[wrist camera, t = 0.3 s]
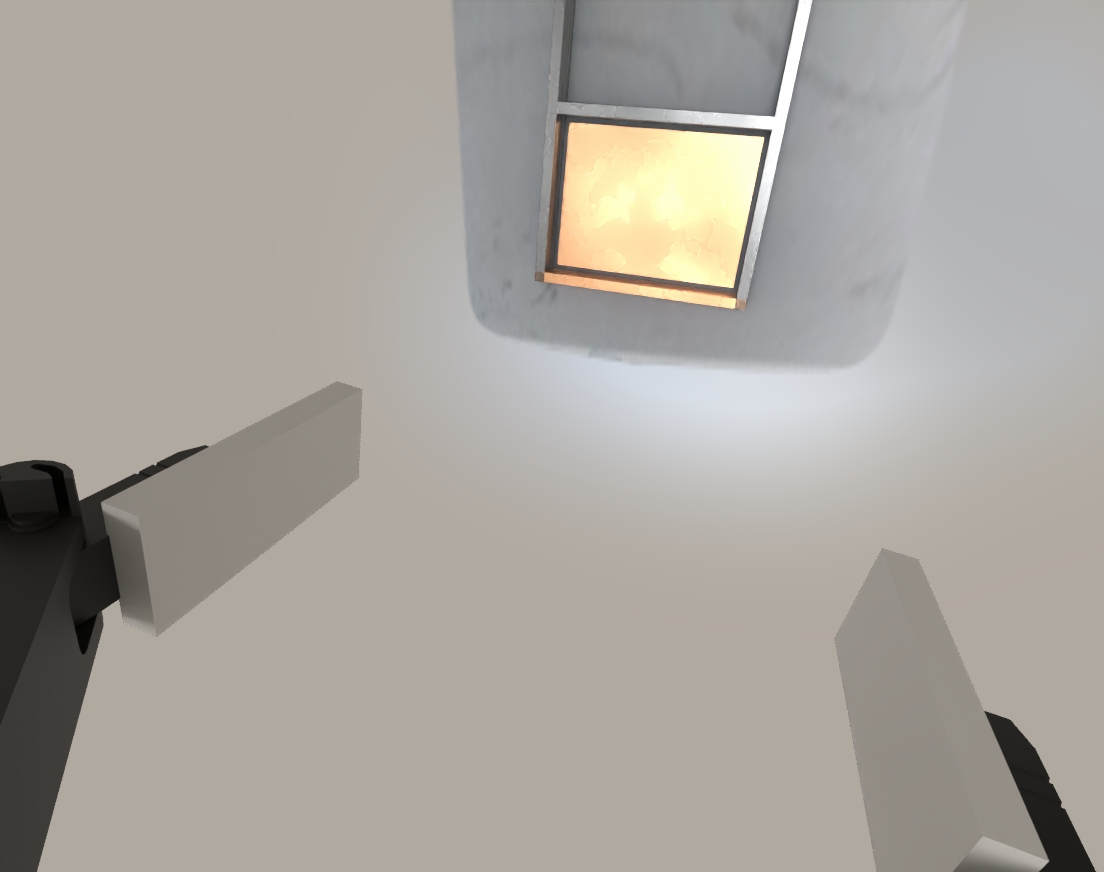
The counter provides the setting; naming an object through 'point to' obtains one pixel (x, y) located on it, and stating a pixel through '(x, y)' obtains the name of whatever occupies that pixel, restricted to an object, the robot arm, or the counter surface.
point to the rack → (654, 188)
